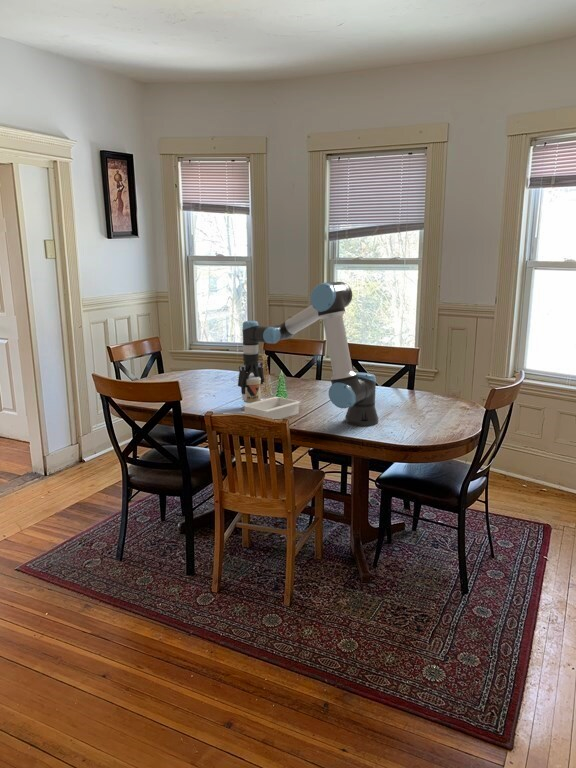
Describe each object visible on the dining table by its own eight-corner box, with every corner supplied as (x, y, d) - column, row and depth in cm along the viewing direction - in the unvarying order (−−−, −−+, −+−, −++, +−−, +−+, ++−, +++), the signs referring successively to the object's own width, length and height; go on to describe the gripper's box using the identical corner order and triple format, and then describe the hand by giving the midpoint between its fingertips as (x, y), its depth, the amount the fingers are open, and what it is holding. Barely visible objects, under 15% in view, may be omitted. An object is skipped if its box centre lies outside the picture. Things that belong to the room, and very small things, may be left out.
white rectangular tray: (276, 408, 285) (276, 396, 284) (301, 414, 274) (301, 402, 272) (242, 417, 269) (241, 405, 267) (267, 424, 257) (267, 411, 256)
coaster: (267, 409, 284) (267, 407, 283) (251, 413, 276) (251, 412, 276) (252, 405, 291) (252, 404, 291) (236, 409, 283) (236, 408, 283)
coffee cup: (244, 404, 277) (243, 379, 274) (240, 399, 286) (240, 376, 283) (263, 402, 279) (262, 378, 277) (258, 398, 288) (258, 375, 285)
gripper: (261, 349, 287) (261, 393, 292) (229, 355, 272) (230, 401, 277) (271, 351, 282) (272, 396, 287) (239, 356, 267) (240, 403, 272)
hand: (251, 398), depth 282 cm, fingers closed on coffee cup, 8 cm apart
